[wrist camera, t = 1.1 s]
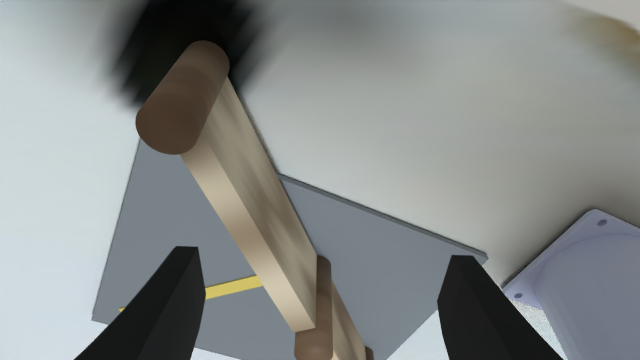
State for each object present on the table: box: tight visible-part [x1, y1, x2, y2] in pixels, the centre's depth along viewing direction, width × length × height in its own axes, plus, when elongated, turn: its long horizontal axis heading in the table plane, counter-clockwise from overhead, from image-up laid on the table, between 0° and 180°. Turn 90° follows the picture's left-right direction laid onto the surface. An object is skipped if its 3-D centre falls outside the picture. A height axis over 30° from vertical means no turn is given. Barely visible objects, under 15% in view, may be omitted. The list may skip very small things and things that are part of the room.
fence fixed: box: [294, 255, 374, 360], centre depth 27 cm, size 12×2×6 cm, turn 19°
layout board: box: [92, 139, 488, 360], centre depth 28 cm, size 21×17×1 cm
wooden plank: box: [136, 41, 317, 332], centre depth 19 cm, size 14×2×6 cm, turn 19°
